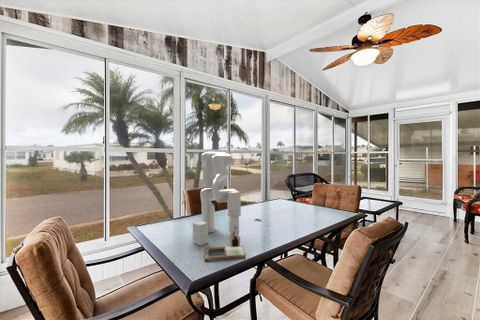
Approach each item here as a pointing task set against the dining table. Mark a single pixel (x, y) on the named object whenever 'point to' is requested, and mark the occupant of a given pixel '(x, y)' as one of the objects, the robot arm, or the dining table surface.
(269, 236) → the dining table surface
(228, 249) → the hole board
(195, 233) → the small box
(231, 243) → the terracotta cube
